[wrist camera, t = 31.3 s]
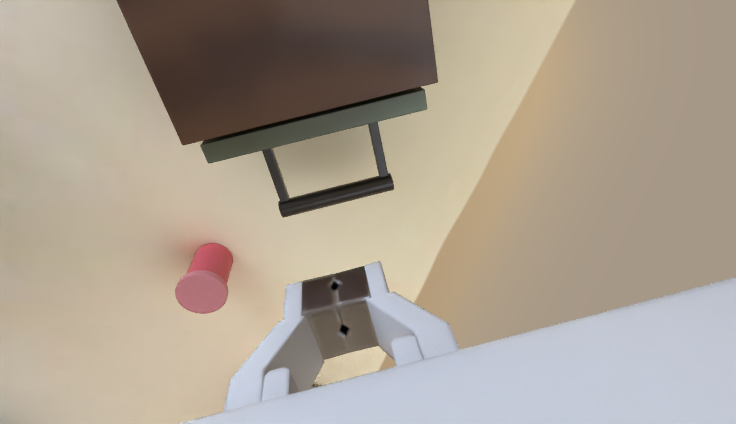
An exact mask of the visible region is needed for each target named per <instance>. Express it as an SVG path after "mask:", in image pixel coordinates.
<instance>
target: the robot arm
mask: <svg viewBox="0 0 736 424" xmlns="http://www.w3.org/2000/svg"><path fill="white" fill-rule="evenodd" d="M375 346H379V347H380V348H381V349H382V350H383V351H385V352H386V353H387V354H388V355H389V356H390V357H391V358H392V359H393V360H394V361H395V362H396V367H392V368H389V369H385V370H381V371H377V372H373V373H369V374H366V375H362V376H358V377H354V378H350V379H347V380H343V381H339V382H335V383H331V384H328V385H324V386H320V387H316V388H312V389H311V387H312V385H313V383H314V381H315V379H316V377H317V375H318V373H319V371H320V369H321V367H322V365H323V363H324V360H325V359H329V358H332V357H336V356H339V355H343V354H346V353H350V352H353V351H358V350H362V349H366V348H371V347H375ZM179 424H736V277H734V278H731V279H727V280H723V281H719V282H716V283H712V284H708V285H705V286H700V287H697V288H693V289H689V290H686V291H682V292H678V293H674V294H670V295H667V296H663V297H659V298H656V299H651V300H648V301H644V302H640V303H636V304H632V305H629V306H625V307H621V308H617V309H613V310H609V311H605V312H602V313H598V314H594V315H590V316H586V317H583V318H579V319H575V320H571V321H567V322H564V323H560V324H556V325H552V326H548V327H545V328H541V329H537V330H534V331H530V332H525V333H522V334H518V335H514V336H511V337H507V338H503V339H499V340H495V341H492V342H488V343H484V344H480V345H476V346H472V347H468V348H465V349H461V350H460V348H459V346H458V343H457V341H456V339H455V337H454V334H453V332H452V330H451V328H450V325H449V323H447V322H445V321H443V320H442V319H440V318H438V317H437V316H435V315H433V314H432V313H430V312H428V311H426V310H425V309H423V308H421V307H419V306H418V305H416V304H414V303H412V302H411V301H409V300H407V299H406V298H404V297H402V296H400V295H399V294H397V293H395V292H391V293H389V289H388V286H387V282H386V279H385V275H384V272H383V268H382V265H381V262H380V261H378V262H374V263H371V264H368V265H365V267H364V266H362V267H358V268H355V269H351V270H347V271H343V272H340V273H336V274H330V275H326V276H322V277H318V278H313V279H309V280H305V281H301V282H297V283H293V284H289V285H287V286H286V289H285V303H284V316H283V321H279V322H278V323H277V324H276V325H275V327H274V328H273V329H272V330H271V331H270V333H269V334H268V335H267V336H266V337H265V339H264V340H263V341H262V342H261V343H260V345H259V346H258V347H257V348H256V349H255V351H254V352H253V353H252V354H251V355H250V357H249V358H248V359H247V360H246V361H245V363H244V364H243V365H242V366H241V367H240V369H239V370H238V371H237V372H236V373H235V375H234V376H233V377H232V378H231V379H230V383H229V388H228V392H227V397H226V402H225V407H224V412H221V413H217V414H213V415H209V416H205V417H202V418H198V419H194V420H190V421H186V422H183V423H179Z"/></svg>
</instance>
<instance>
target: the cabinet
mask: <svg viewBox="0 0 736 424" xmlns="http://www.w3.org/2000/svg"><path fill="white" fill-rule="evenodd" d="M117 2H118V5H119V7H120V9H121V11H122V13H123V16H124V18H125V20H126V22H127V24H128V27H129V29H130V31H131V33H132V35H133V38H134V40H135V42H136V44H137V46H138V49H139V51H140V53H141V55H142V57H143V60H144V62H145V64H146V66H147V68H148V70H149V73H150V75H151V77H152V79H153V81H154V84H155V86H156V88H157V90H158V92H159V95H160V97H161V99H162V101H163V103H164V106H165V108H166V110H167V112H168V114H169V117H170V119H171V121H172V123H173V125H174V128H175V130H176V132H177V134H178V136H179V139H180V141H181V143H182V145H187V144H191V143H195V142H199V141H203V140H207V139H211V138H215V137H219V136H223V135H227V134H231V133H236V132H240V131H244V130H248V129H252V128H256V127H260V126H264V125H268V124H272V123H276V122H280V121H284V120H288V119H292V118H296V117H300V116H304V115H308V114H312V113H316V112H320V111H324V110H328V109H332V108H336V107H341V106H345V105H349V104H353V103H357V102H361V101H365V100H369V99H373V98H377V97H381V96H385V95H389V94H393V93H397V92H401V91H405V90H409V89H413V88H417V87H421V86H425V85H429V84H433V83H437V82H438V78H437V69H436V61H435V53H434V45H433V37H432V28H431V20H430V12H429V4H428V0H117Z"/></svg>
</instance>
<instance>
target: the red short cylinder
mask: <svg viewBox="0 0 736 424" xmlns="http://www.w3.org/2000/svg"><path fill="white" fill-rule="evenodd" d="M232 263H233V256H232V254H231V252H230V251H229V250H228V249H227V248H226V247H224V246H222V245H220V244H214V243H211V244H206V245H203V246H201V247H200V248H199V249H198V250H197V251H196V253H195V256H194V258H193V260H192V263H191V265H190V267H189V269H188V272H187V274H186V275H184V276H183V277H182V278H181V279H180V280H179V282H178V284H177V286H176V290H175V295H176V299H177V301H178V302H179V303H180V305H181V306H183V307H184V308H185V309H187V310H189V311H191V312H195V313H201V314H205V313H211V312H214V311H216V310H218V309H220V308H221V307H222V306H223V305H224V304H225V302H226V300H227V296H228V287H227V281H228V278H229V274H230V271H231V267H232Z"/></svg>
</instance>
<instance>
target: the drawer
mask: <svg viewBox="0 0 736 424" xmlns="http://www.w3.org/2000/svg"><path fill="white" fill-rule="evenodd" d="M426 109H427V103H426V96H425V90H424V89H423V88H421V87H417V88H413V89H409V90H405V91H401V92H397V93H393V94H389V95H385V96H381V97H377V98H373V99H369V100H365V101H361V102H357V103H353V104H349V105H345V106H341V107H336V108H332V109H328V110H324V111H320V112H316V113H312V114H308V115H304V116H300V117H296V118H292V119H288V120H284V121H280V122H276V123H272V124H268V125H264V126H260V127H256V128H252V129H248V130H244V131H240V132H236V133H231V134H227V135H223V136H219V137H215V138H211V139H207V140H204V141H203V142H202V144H201V148H202V150H203V153H204V155H205V157H206V160H207V162H208V163H214V162H218V161H222V160H226V159H230V158H234V157H238V156H242V155H246V154H250V153H254V152H258V151H263V154H264V157H265V160H266V163H267V165H268V168H269V171H270V174H271V177H272V179H273V182H274V185H275V188H276V191H277V193H278V196H279V199H280V201H279V203H278V205H279V210H280V213H281V215H282V217H288V216H292V215H296V214H300V213H304V212H308V211H312V210H316V209H320V208H324V207H327V206H331V205H335V204H339V203H343V202H347V201H351V200H355V199H359V198H363V197H367V196H371V195H375V194H379V193H383V192H387V191H391V190H394V184H393V180H392V177H391V174H390V173H388V171H387V166H386V162H385V157H384V152H383V147H382V142H381V137H380V132H379V127H378V121H382V120H386V119H390V118H394V117H398V116H402V115H406V114H410V113H414V112H418V111H422V110H426ZM366 124H368V127H369V132H370V136H371V141H372V146H373V150H374V155H375V160H376V164H377V169H378V174H379V176H376V177H372V178H368V179H364V180H360V181H356V182H352V183H348V184H344V185H340V186H336V187H332V188H328V189H324V190H321V191H317V192H313V193H309V194H305V195H301V196H297V197H293V198H289V195H288V192H287V189H286V186H285V183H284V180H283V177H282V174H281V171H280V168H279V166H278V163H277V160H276V157H275V154H274V151H273V148H274V147H278V146H282V145H286V144H290V143H294V142H298V141H302V140H306V139H310V138H314V137H318V136H322V135H326V134H330V133H334V132H338V131H342V130H346V129H350V128H354V127H358V126H362V125H366Z"/></svg>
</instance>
